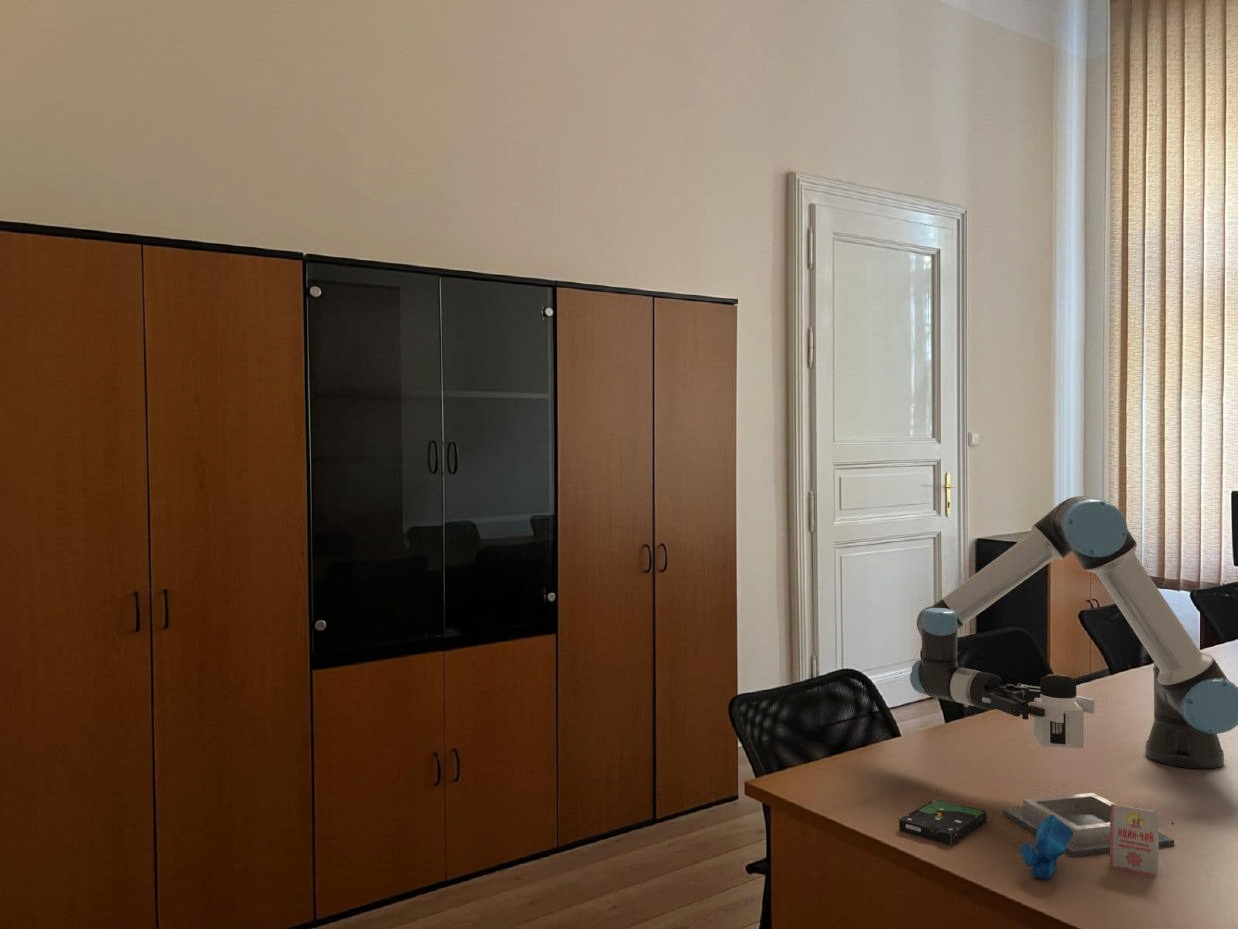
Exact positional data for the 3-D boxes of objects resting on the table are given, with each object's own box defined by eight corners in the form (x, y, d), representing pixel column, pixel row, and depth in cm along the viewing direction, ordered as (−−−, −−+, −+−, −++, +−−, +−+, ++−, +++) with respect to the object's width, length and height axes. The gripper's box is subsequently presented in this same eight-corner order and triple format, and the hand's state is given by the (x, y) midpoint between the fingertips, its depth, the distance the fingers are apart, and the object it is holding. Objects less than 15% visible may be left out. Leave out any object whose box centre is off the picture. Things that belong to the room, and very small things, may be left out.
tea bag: (1113, 859, 166) (1112, 800, 166) (1158, 868, 162) (1158, 808, 162) (1109, 867, 163) (1109, 807, 163) (1156, 876, 159) (1155, 815, 159)
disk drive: (952, 850, 172) (987, 825, 183) (952, 834, 172) (987, 810, 183) (898, 834, 179) (935, 811, 190) (898, 819, 179) (934, 796, 190)
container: (1084, 749, 190) (1083, 682, 190) (1041, 746, 192) (1041, 680, 191) (1074, 737, 197) (1074, 673, 197) (1033, 735, 199) (1033, 671, 199)
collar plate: (1095, 805, 191) (1095, 787, 191) (1174, 845, 171) (1174, 825, 171) (1003, 814, 186) (1003, 796, 186) (1072, 857, 167) (1072, 836, 167)
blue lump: (1013, 839, 158) (1027, 800, 167) (1016, 887, 159) (1030, 845, 169) (1063, 849, 154) (1075, 808, 163) (1066, 898, 155) (1077, 855, 165)
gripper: (1009, 698, 216) (1109, 720, 198) (944, 715, 202) (1045, 741, 184) (1009, 664, 216) (1109, 683, 198) (944, 679, 202) (1045, 701, 184)
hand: (1078, 711), depth 191 cm, fingers closed on container, 10 cm apart
